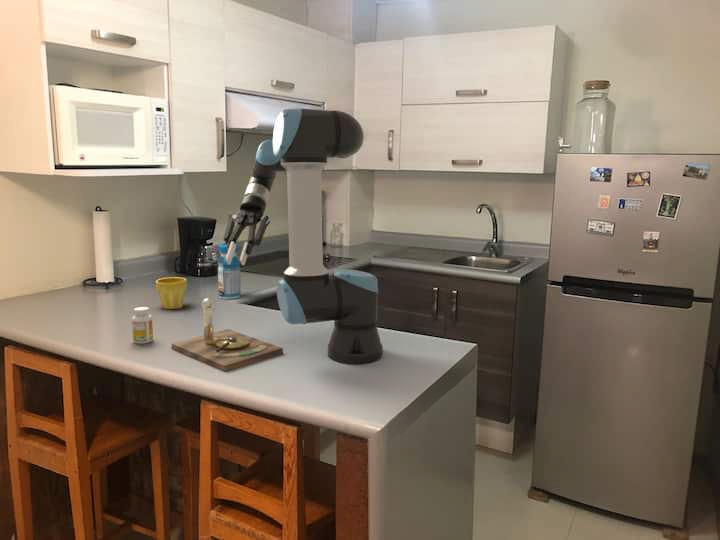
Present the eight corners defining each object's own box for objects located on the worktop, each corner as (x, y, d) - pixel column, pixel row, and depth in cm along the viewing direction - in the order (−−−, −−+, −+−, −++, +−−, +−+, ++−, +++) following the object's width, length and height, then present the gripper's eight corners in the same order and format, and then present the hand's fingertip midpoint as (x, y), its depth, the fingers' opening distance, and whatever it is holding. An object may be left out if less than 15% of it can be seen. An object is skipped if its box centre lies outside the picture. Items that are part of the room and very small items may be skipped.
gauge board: (282, 353, 160) (282, 347, 159) (225, 371, 146) (224, 364, 145) (228, 333, 176) (228, 328, 176) (171, 348, 162) (171, 342, 162)
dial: (256, 344, 161) (255, 300, 159) (217, 356, 152) (215, 309, 149) (229, 334, 170) (228, 292, 167) (190, 345, 160) (188, 300, 158)
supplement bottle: (146, 336, 172) (144, 305, 170) (156, 340, 169) (155, 308, 167) (129, 341, 168) (127, 308, 166) (139, 345, 165) (137, 312, 163)
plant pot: (157, 304, 209) (155, 277, 207) (187, 302, 212) (186, 276, 210) (156, 311, 199) (155, 283, 197) (188, 309, 202) (187, 282, 201)
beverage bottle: (233, 300, 216) (231, 247, 212) (214, 298, 219) (212, 245, 215) (245, 295, 224) (244, 244, 220) (226, 293, 227) (224, 242, 223)
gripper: (282, 210, 186) (265, 270, 173) (233, 208, 189) (212, 267, 176) (277, 194, 180) (258, 256, 167) (226, 192, 183) (204, 253, 170)
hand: (234, 262), depth 172 cm, fingers open, 4 cm apart
